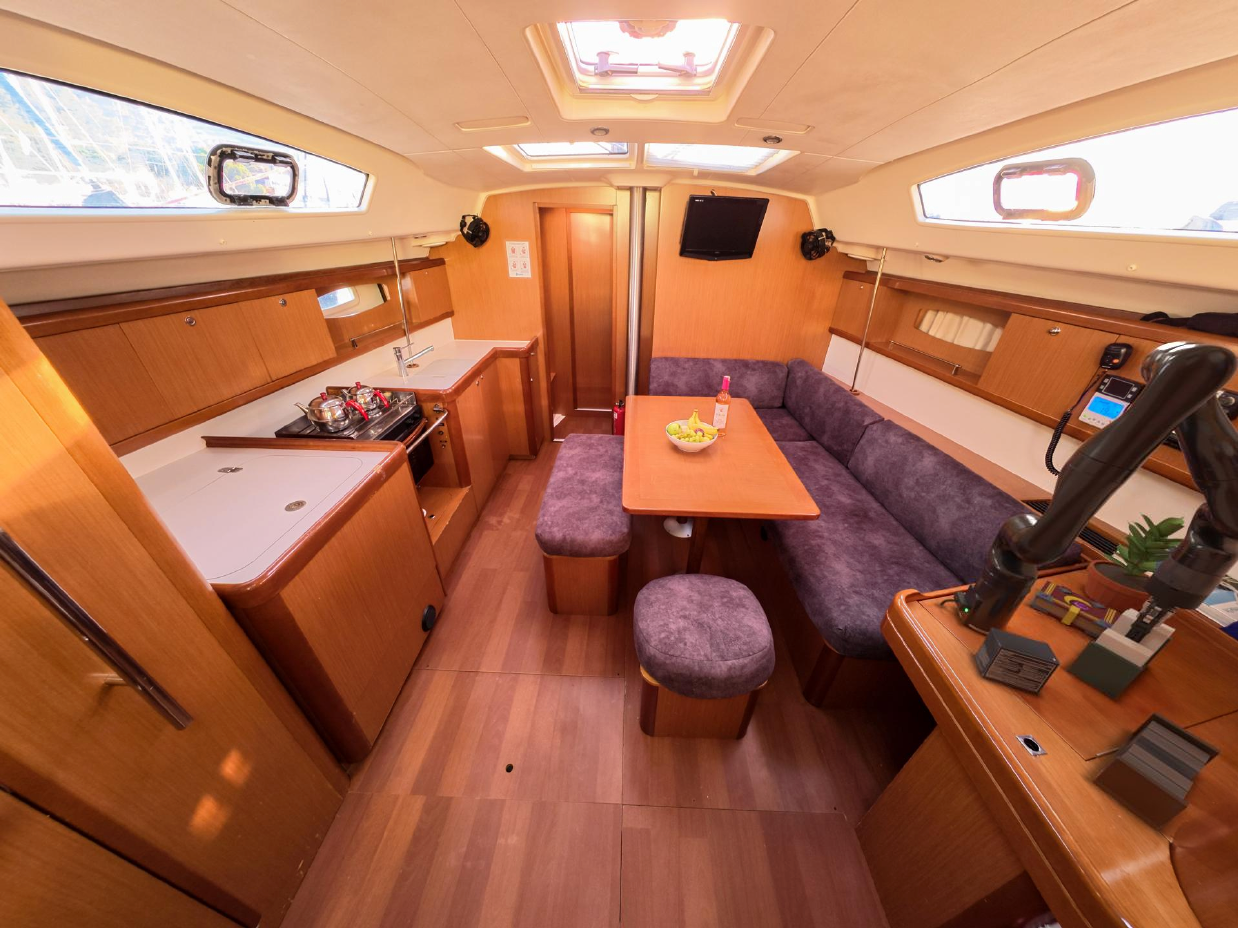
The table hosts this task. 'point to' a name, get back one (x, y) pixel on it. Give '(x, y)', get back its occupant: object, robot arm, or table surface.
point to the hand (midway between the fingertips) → (1133, 637)
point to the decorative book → (1075, 609)
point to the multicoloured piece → (1113, 661)
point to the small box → (1016, 661)
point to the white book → (1150, 640)
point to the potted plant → (1131, 565)
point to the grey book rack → (1155, 769)
